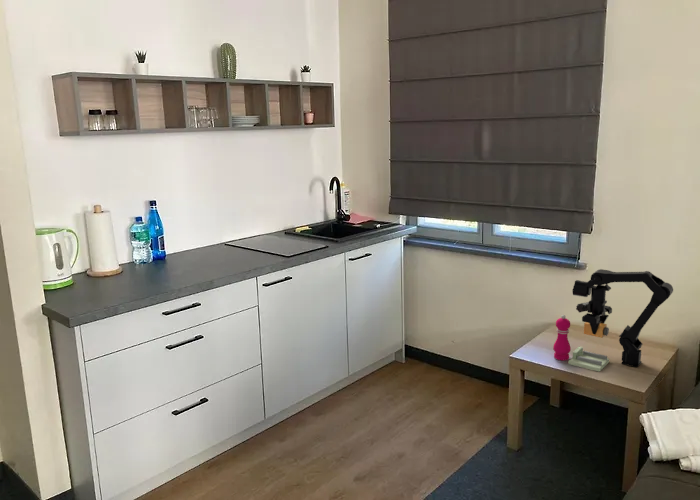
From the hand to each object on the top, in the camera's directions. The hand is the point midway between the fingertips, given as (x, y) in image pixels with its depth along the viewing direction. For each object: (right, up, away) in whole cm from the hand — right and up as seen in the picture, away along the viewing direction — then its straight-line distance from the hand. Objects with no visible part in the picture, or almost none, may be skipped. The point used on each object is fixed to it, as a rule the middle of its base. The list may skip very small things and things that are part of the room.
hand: (596, 332), depth 257 cm
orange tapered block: (0, -1, +1) cm, 1 cm away
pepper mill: (-15, -12, +2) cm, 19 cm away
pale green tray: (-5, -13, -5) cm, 14 cm away
